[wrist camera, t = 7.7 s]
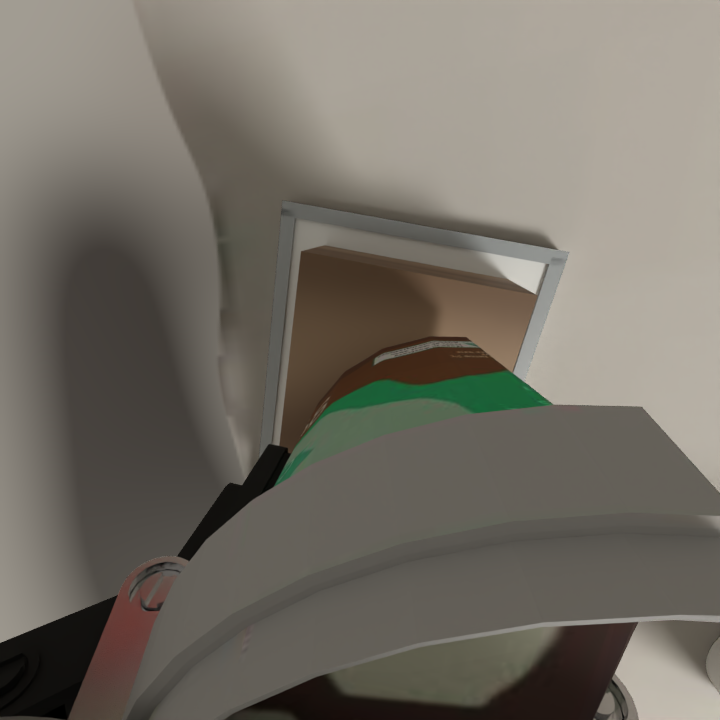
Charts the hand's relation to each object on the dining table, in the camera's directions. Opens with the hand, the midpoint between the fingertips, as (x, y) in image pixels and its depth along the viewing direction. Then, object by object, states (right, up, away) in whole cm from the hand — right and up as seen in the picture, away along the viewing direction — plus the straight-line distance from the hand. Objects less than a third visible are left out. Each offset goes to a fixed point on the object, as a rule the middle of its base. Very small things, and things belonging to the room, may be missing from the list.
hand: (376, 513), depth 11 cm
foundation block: (+1, +3, +8) cm, 8 cm away
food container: (-1, +1, +3) cm, 3 cm away
